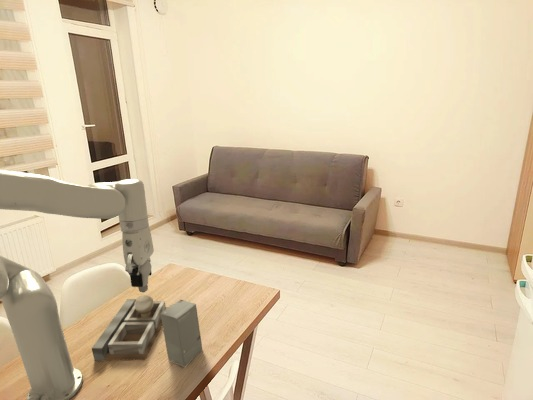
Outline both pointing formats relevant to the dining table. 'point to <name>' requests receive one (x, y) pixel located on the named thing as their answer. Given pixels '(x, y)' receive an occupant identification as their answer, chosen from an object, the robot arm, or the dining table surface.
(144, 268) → the lightbulb
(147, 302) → the compartment tray
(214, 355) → the dining table surface
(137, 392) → the dining table surface
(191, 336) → the skincare box
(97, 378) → the dining table surface
